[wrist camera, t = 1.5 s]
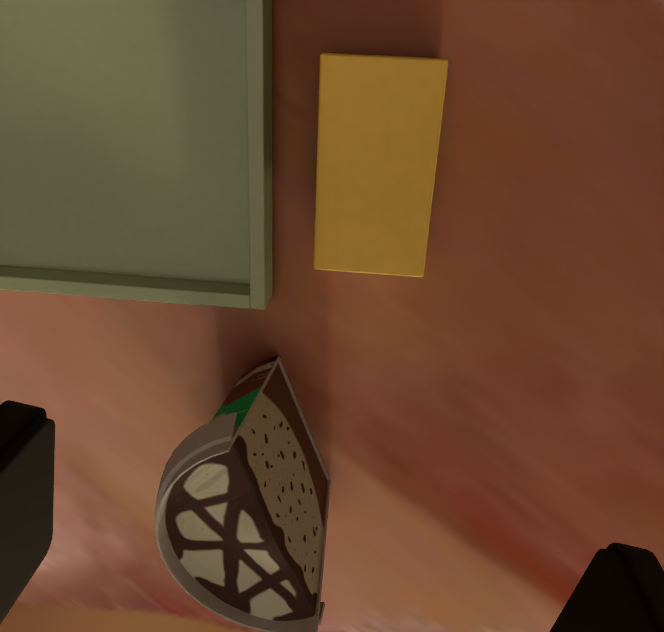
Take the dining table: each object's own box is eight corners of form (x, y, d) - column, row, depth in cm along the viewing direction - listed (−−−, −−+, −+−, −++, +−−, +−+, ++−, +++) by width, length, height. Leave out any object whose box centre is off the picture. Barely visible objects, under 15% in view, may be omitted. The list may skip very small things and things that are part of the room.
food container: (174, 358, 34) (95, 469, 25) (269, 332, 33) (222, 440, 24) (251, 515, 39) (207, 656, 30) (338, 497, 37) (320, 640, 28)
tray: (272, -34, 25) (263, -40, 23) (272, 295, 32) (265, 310, 30) (-188, -51, 27) (-233, -59, 25) (-98, 266, 33) (-128, 279, 32)
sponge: (440, 57, 26) (449, 59, 22) (419, 247, 30) (423, 278, 26) (330, 52, 27) (319, 53, 23) (323, 241, 30) (313, 269, 26)
